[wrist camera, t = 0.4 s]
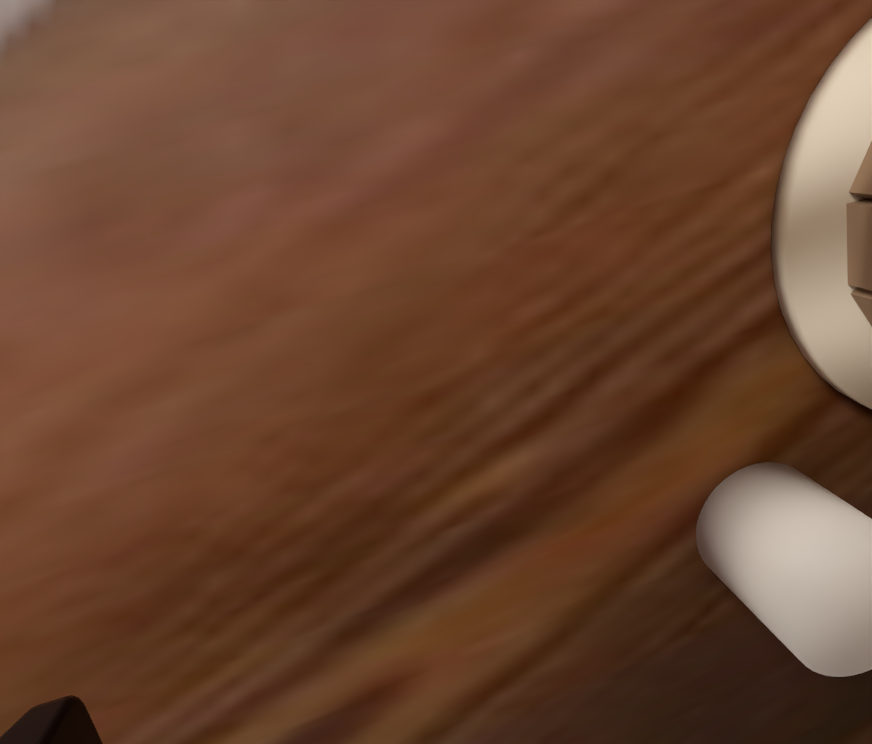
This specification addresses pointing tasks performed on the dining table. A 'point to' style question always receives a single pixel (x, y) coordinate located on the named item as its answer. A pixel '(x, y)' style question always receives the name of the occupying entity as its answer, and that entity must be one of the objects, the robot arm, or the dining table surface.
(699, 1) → the dining table surface
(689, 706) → the dining table surface
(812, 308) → the tray
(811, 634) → the white cylinder
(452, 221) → the dining table surface
